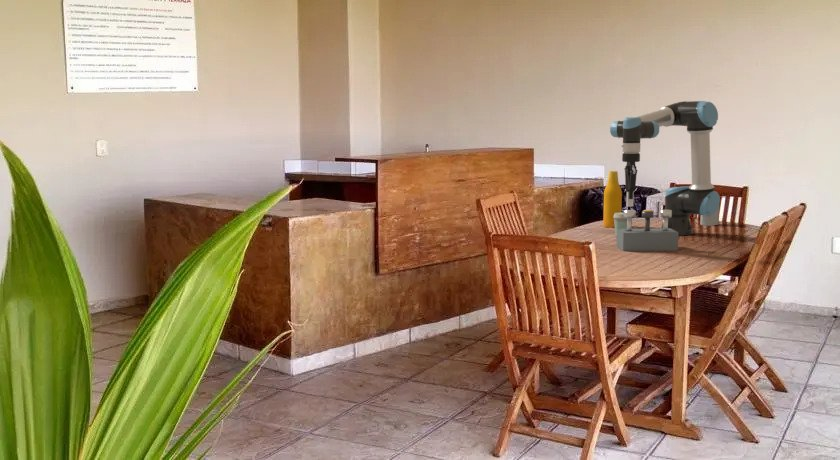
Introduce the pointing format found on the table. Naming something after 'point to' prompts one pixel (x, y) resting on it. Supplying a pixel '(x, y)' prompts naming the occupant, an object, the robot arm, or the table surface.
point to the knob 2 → (665, 218)
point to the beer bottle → (612, 199)
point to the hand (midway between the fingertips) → (629, 206)
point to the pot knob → (647, 218)
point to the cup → (710, 219)
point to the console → (647, 240)
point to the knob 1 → (629, 218)
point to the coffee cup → (620, 221)
